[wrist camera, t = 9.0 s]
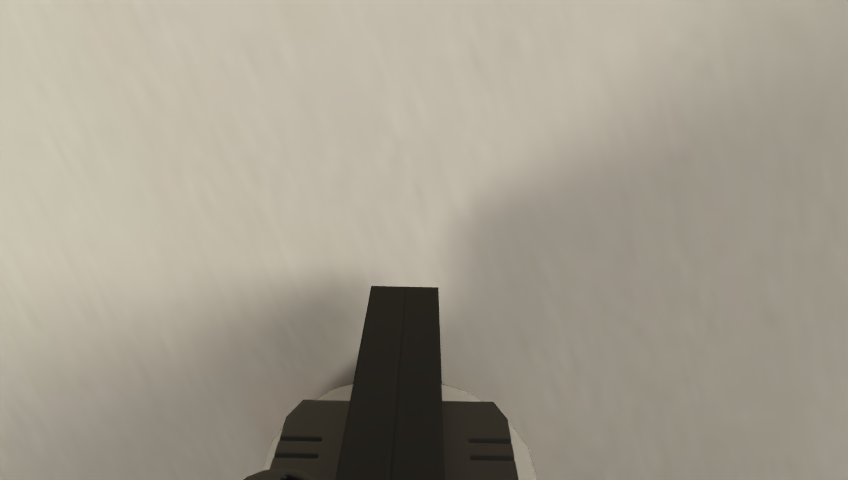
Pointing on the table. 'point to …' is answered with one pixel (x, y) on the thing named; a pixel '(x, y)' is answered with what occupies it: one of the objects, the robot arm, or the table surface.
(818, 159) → the table surface
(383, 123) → the table surface
